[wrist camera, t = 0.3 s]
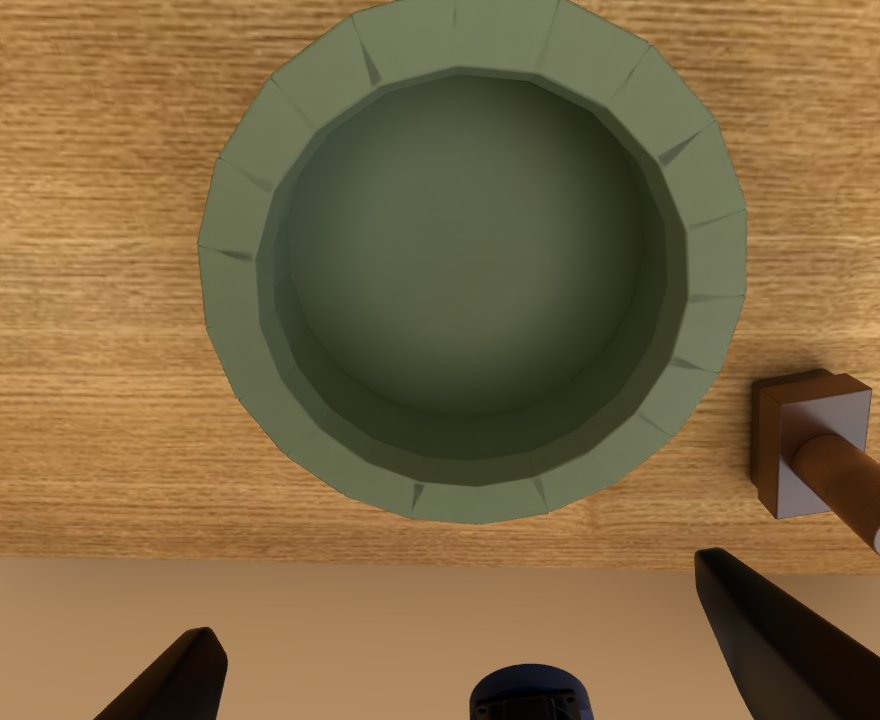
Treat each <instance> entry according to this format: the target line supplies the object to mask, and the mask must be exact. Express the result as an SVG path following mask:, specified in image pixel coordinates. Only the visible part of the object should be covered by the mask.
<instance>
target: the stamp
mask: <svg viewBox="0 0 880 720" xmlns="http://www.w3.org/2000/svg"><path fill="white" fill-rule="evenodd" d="M871 395H872V388H871V387H869V386H867V385H865V384H864V383H862V382H860V381H859V380H857V379H855V378H853V377H852V376H850V375H848V374H846V373H843V374H838V375H834V374H832V373H831V372H829V371H827V370H826V369H819V370H814V371H809V372H803V373H798V374H792V375H787V376H782V377H776V378H771V379H765V380H760V381H755V382H753V383H752V454H751V482H752V483H753V484H754V485H755V486H756V487H757V489H758V499H759V500H760V501H761V503H762V504H763V505H764V506H765V507H766V508H767V510H768V511H769V512H770V513H771V514H772V515H773V517H774V518H775V519H783V518H790V517H796V516H802V515H809V514H815V513H822V512H828V511H833V512H834V513H835V514H836V515H837V516H838V517H839V518H840V519H841V520H843V521H844V522H845V523H846V524H847V525H848V526H849V527H850V528H851V529H852V530H853V531H854V532H855V533H856V534H857V535H858V536H859V537H860V538H861V539H862V540H863V541H864V542H865V543H866V544H867V545H868V546H869V547H870V548H871V549H872V550H873V551H875V552H876V553H877V554H878V555H879V556H880V464H879V463H877V462H876V461H875V460H873V459H872V458H871V457H869V456H868V455H867V454H865V445H866V437H867V428H868V420H869V412H870V403H871Z"/></svg>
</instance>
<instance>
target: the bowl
mask: <svg viewBox="0 0 880 720" xmlns="http://www.w3.org/2000/svg"><path fill="white" fill-rule="evenodd" d="M746 207H747V205H746V202H745V199H744V196H743V193H742V190H741V188H740V185H739V182H738V179H737V176H736V173H735V170H734V168H733V165H732V162H731V159H730V156H729V153H728V151H727V148H726V145H725V142H724V139H723V136H722V134H721V131H720V128H719V125H718V122H717V120H715V117H714V116H713V114H712V113H711V112H710V111H709V110H708V109H707V107H706V106H705V105H704V104H703V103H702V102H701V100H700V99H699V98H698V97H697V96H696V95H695V93H694V92H693V91H692V90H691V89H690V88H689V86H688V85H687V84H686V83H685V82H684V80H683V79H682V78H681V77H680V76H679V75H678V73H677V72H676V71H675V70H674V69H673V68H672V66H671V65H670V64H669V63H668V62H667V61H666V59H665V58H664V57H663V56H662V55H661V54H660V52H659V51H658V50H657V49H656V48H655V47H654V45H650V44H649V42H648V41H646V40H644V39H642V38H640V37H638V36H636V35H634V34H632V33H631V32H629V31H627V30H625V29H623V28H621V27H619V26H617V25H615V24H613V23H612V22H610V21H608V20H606V19H604V18H602V17H600V16H598V15H596V14H594V13H592V12H591V11H589V10H587V9H585V8H583V7H581V6H579V5H577V4H575V3H573V2H571V1H570V0H396V1H392V2H389V3H385V4H382V5H378V6H375V7H371V8H368V9H364V10H361V11H357V12H354V13H352V16H347V17H346V18H345V19H343V20H342V21H341V22H339V23H338V24H337V25H335V26H334V27H333V28H331V29H330V30H329V31H327V32H326V33H325V34H323V35H322V36H321V37H319V38H318V39H317V40H315V41H314V42H313V43H311V44H310V45H309V46H307V47H306V48H305V49H304V50H302V51H301V52H300V53H298V54H297V55H296V56H294V57H293V58H292V59H290V60H289V61H288V62H286V63H285V64H284V65H282V66H281V67H280V68H278V69H277V70H276V71H274V72H273V73H272V74H271V78H270V77H269V78H268V79H267V80H266V81H265V83H264V84H263V86H262V88H261V89H260V91H259V92H258V94H257V95H256V97H255V99H254V100H253V102H252V103H251V105H250V106H249V108H248V110H247V111H246V113H245V114H244V116H243V117H242V119H241V121H240V122H239V124H238V125H237V127H236V128H235V130H234V132H233V133H232V135H231V136H230V138H229V139H228V141H227V143H226V144H225V146H224V147H223V149H222V150H221V152H220V154H219V158H216V162H215V166H214V171H213V175H212V180H211V184H210V188H209V193H208V197H207V202H206V206H205V210H204V215H203V219H202V224H201V228H200V232H199V237H198V241H197V244H198V256H199V266H200V275H201V285H202V295H203V304H204V314H205V324H206V326H207V327H206V330H207V332H208V335H209V337H210V339H211V341H212V344H213V346H214V348H215V351H216V353H217V355H218V357H219V360H220V362H221V364H222V367H223V369H224V371H225V373H226V376H227V378H228V380H229V383H230V385H231V387H232V389H233V392H234V394H235V396H236V398H238V400H239V402H240V403H241V404H242V405H243V406H244V408H245V409H246V410H247V411H248V412H249V414H250V415H251V416H252V417H253V418H254V419H255V421H256V422H257V423H258V424H259V425H260V427H261V428H262V429H263V430H264V431H265V432H266V434H267V435H268V436H269V437H270V438H271V440H272V441H273V442H274V443H275V444H276V445H277V447H278V448H279V449H280V450H281V451H282V453H283V454H286V456H287V457H288V458H290V459H291V460H293V461H294V462H296V463H297V464H299V465H300V466H302V467H303V468H305V469H306V470H308V471H309V472H310V473H312V474H313V475H315V476H316V477H318V478H319V479H321V480H322V481H324V482H325V483H327V484H328V485H330V486H331V487H333V488H334V489H336V490H337V491H338V492H340V493H341V494H344V495H345V496H346V497H349V498H352V499H355V500H358V501H360V502H363V503H366V504H369V505H372V506H375V507H378V508H381V509H383V510H386V511H389V512H392V513H395V514H398V515H401V516H403V517H406V518H411V519H418V520H430V521H441V522H453V523H465V524H477V525H478V524H480V525H481V524H488V523H494V522H500V521H506V520H512V519H518V518H524V517H530V516H536V515H542V514H548V513H549V512H552V511H554V510H557V509H559V508H561V507H563V506H566V505H568V504H570V503H572V502H575V501H577V500H579V499H582V498H584V497H586V496H588V495H591V494H593V493H595V492H598V491H600V490H602V489H604V488H607V487H609V486H611V485H613V484H614V483H617V482H619V481H620V480H621V479H622V478H624V477H625V476H626V475H627V474H629V473H630V472H631V471H632V470H634V469H635V468H636V467H637V466H639V465H640V464H641V463H642V462H644V461H645V460H646V459H647V458H649V457H650V456H651V455H652V454H654V453H655V452H656V451H657V450H659V449H660V448H661V447H662V446H664V445H665V444H666V443H667V442H669V441H670V440H671V439H672V438H673V437H675V436H676V434H677V433H678V431H679V430H680V429H681V427H682V426H683V424H684V423H685V422H686V420H687V419H688V417H689V416H690V415H691V413H692V412H693V411H694V409H695V408H696V406H697V405H698V404H699V402H700V401H701V399H702V398H703V397H704V395H705V394H706V392H707V391H708V390H709V388H710V387H711V386H712V384H713V383H714V381H715V380H716V379H717V377H718V376H719V372H720V371H721V368H722V365H723V362H724V359H725V356H726V353H727V350H728V347H729V344H730V341H731V339H732V336H733V333H734V330H735V327H736V324H737V321H738V318H739V315H740V312H741V309H742V306H743V303H744V300H745V295H744V294H746V251H747V210H746Z"/></svg>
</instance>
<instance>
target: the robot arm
mask: <svg viewBox="0 0 880 720" xmlns="http://www.w3.org/2000/svg"><path fill="white" fill-rule="evenodd" d="M694 560H695V578H696V579H695V580H696V589H697V593H698V596H699V599H700V601H701V604H702V606H703V609H704V611H705V613H706V616H707V618H708V620H709V623H710V625H711V627H712V629H713V632H714V634H715V637H716V638H717V641H718V644H719V646H720V648H721V651H722V653H723V655H724V658H725V660H726V662H727V665H728V667H729V669H730V672H731V674H732V676H733V679H734V681H735V683H736V685H737V688H738V690H739V692H740V694H741V696H742V698H743V699H744V702H745V704H746V706H747V708H748V710H749V711H750V713H751V715H752V717H753V718H754V720H880V657H879V656H878V655H876V654H875V653H873V652H872V651H870V650H869V649H867V648H866V647H864V646H863V645H861V644H860V643H859V642H857V641H856V640H854V639H853V638H851V637H850V636H849V635H847V634H846V633H844V632H843V631H841V630H840V629H838V628H837V627H835V626H834V625H832V624H831V623H830V622H828V621H827V620H825V619H824V618H822V617H821V616H820V615H818V614H817V613H815V612H813V611H812V610H811V609H809V608H808V607H807V606H805V605H804V604H802V603H801V602H799V601H798V600H796V599H795V598H793V597H792V596H791V595H789V594H787V593H786V592H785V591H783V590H782V589H780V588H779V587H777V586H776V585H775V584H773V583H772V582H770V581H769V580H767V579H766V578H764V577H763V576H762V575H760V574H759V573H757V572H756V571H754V570H753V569H751V568H750V567H749V566H747V565H746V564H744V563H743V562H741V561H740V560H738V559H737V558H735V557H734V556H733V555H731V554H730V553H728V552H727V551H725V550H724V549H722V548H718V547H715V548H709V549H702V550H698V551H696V552H695V556H694ZM227 667H228V659H227V655H226V652H225V651H224V649H223V647H222V646H221V644H220V642H219V641H218V639H217V637H216V635H215V633H214V632H213V630H212V629H211V628H209V627H201V628H195V629H190V630H187V631H186V632H184V633H183V634H182V635H181V636H180V637H179V638H178V639H177V640H176V641H175V642H174V643H173V644H172V645H171V646H170V647H169V648H168V649H166V650H165V651H164V652H163V654H161V655H160V656H159V657H158V658H157V659H156V660H155V661H154V662H153V663H152V664H151V665H150V666H149V667H148V668H147V669H146V670H145V671H143V672H142V674H140V675H139V676H138V678H136V679H135V680H134V681H133V682H132V683H131V684H130V685H129V686H128V687H127V688H126V689H125V690H124V691H123V692H122V693H121V694H119V696H117V697H116V698H115V699H114V700H113V701H112V702H111V703H110V704H109V705H108V706H107V707H106V708H105V709H104V710H103V711H102V712H101V713H100V714H99V715H98V716H96V717H95V718H94V719H93V720H216V716H217V712H218V708H219V703H220V699H221V694H222V689H223V686H224V681H225V677H226V672H227ZM475 714H476V717H477V720H582V718H581V713H580V708H579V702H578V697H577V693H576V691H575V690H574V689H571V688H566V689H558V690H551V691H543V692H535V693H527V694H519V695H511V696H503V697H495V698H487V699H480V700H477V701H476V702H475Z"/></svg>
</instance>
